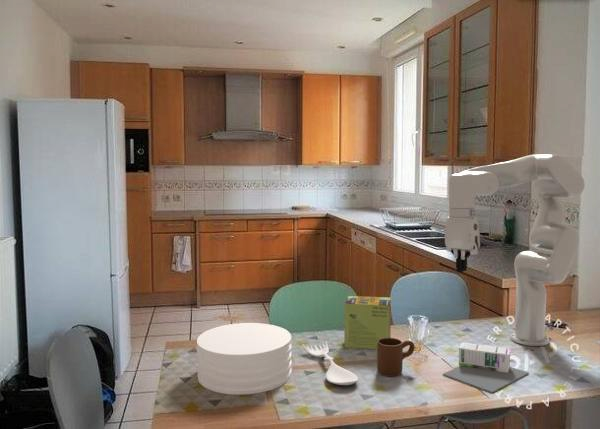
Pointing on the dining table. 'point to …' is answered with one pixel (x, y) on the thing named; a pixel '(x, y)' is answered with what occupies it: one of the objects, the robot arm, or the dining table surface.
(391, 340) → the mug
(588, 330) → the dining table surface
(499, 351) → the syrup box
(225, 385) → the plate stack
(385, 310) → the protein box
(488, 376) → the rubber mat
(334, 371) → the spoon
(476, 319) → the dining table surface
